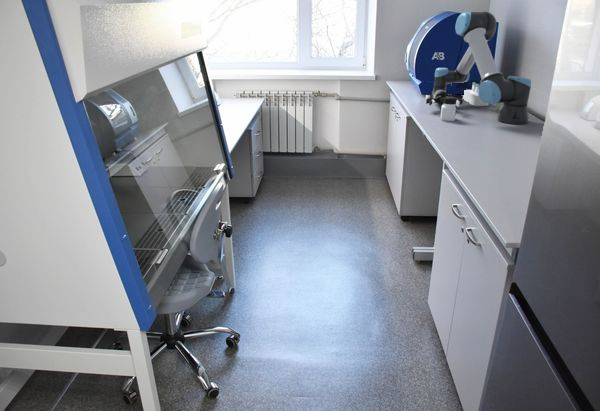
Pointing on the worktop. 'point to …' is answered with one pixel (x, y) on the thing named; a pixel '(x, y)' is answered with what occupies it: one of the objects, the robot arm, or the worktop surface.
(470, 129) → the worktop surface
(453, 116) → the medicine bottle
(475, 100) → the tube rack
